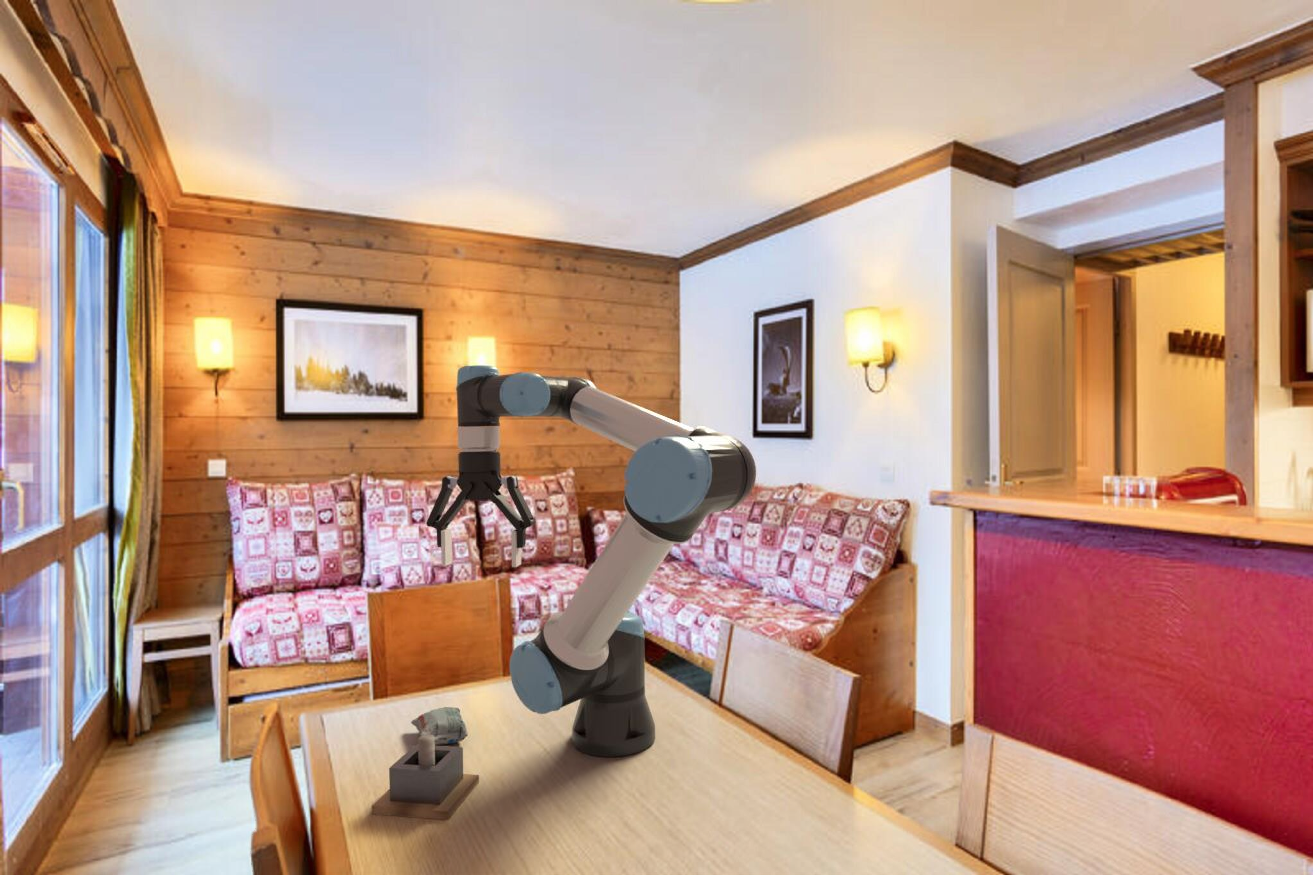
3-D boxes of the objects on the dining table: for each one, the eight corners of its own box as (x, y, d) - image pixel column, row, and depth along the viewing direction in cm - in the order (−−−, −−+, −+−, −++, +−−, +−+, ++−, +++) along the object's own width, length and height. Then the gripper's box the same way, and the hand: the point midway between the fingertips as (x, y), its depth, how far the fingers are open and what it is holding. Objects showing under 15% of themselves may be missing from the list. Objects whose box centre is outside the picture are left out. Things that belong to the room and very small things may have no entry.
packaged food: (418, 757, 123) (418, 729, 123) (411, 731, 134) (411, 705, 134) (469, 747, 127) (469, 720, 127) (458, 723, 137) (458, 698, 137)
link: (463, 778, 112) (462, 747, 112) (439, 804, 104) (439, 771, 104) (416, 775, 114) (415, 744, 114) (389, 801, 106) (389, 767, 106)
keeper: (478, 782, 114) (477, 725, 113) (447, 819, 103) (446, 756, 103) (409, 777, 115) (408, 721, 115) (371, 813, 105) (370, 751, 105)
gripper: (550, 448, 132) (552, 562, 132) (426, 450, 136) (428, 560, 136) (537, 449, 125) (539, 570, 125) (406, 451, 129) (408, 568, 129)
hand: (481, 565), depth 130 cm, fingers open, 13 cm apart
